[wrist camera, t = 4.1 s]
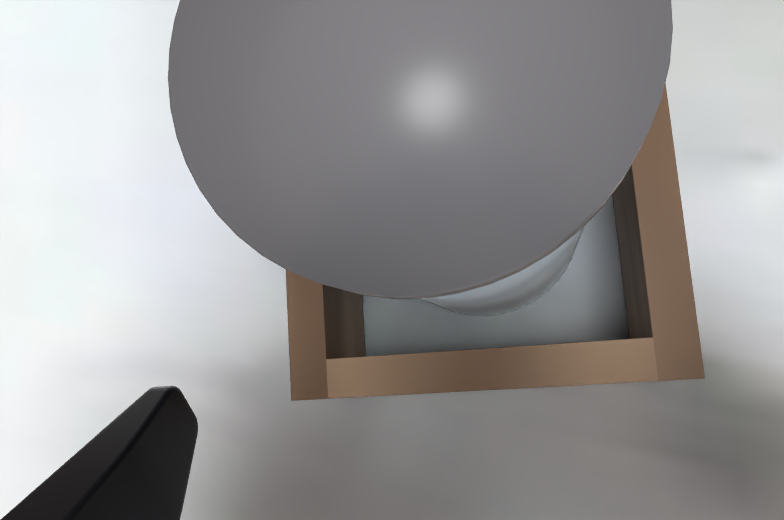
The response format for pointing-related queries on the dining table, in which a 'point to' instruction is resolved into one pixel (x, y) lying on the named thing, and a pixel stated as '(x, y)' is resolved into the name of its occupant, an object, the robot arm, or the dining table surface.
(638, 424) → the dining table surface
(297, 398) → the walnut collar
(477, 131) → the parts canister
